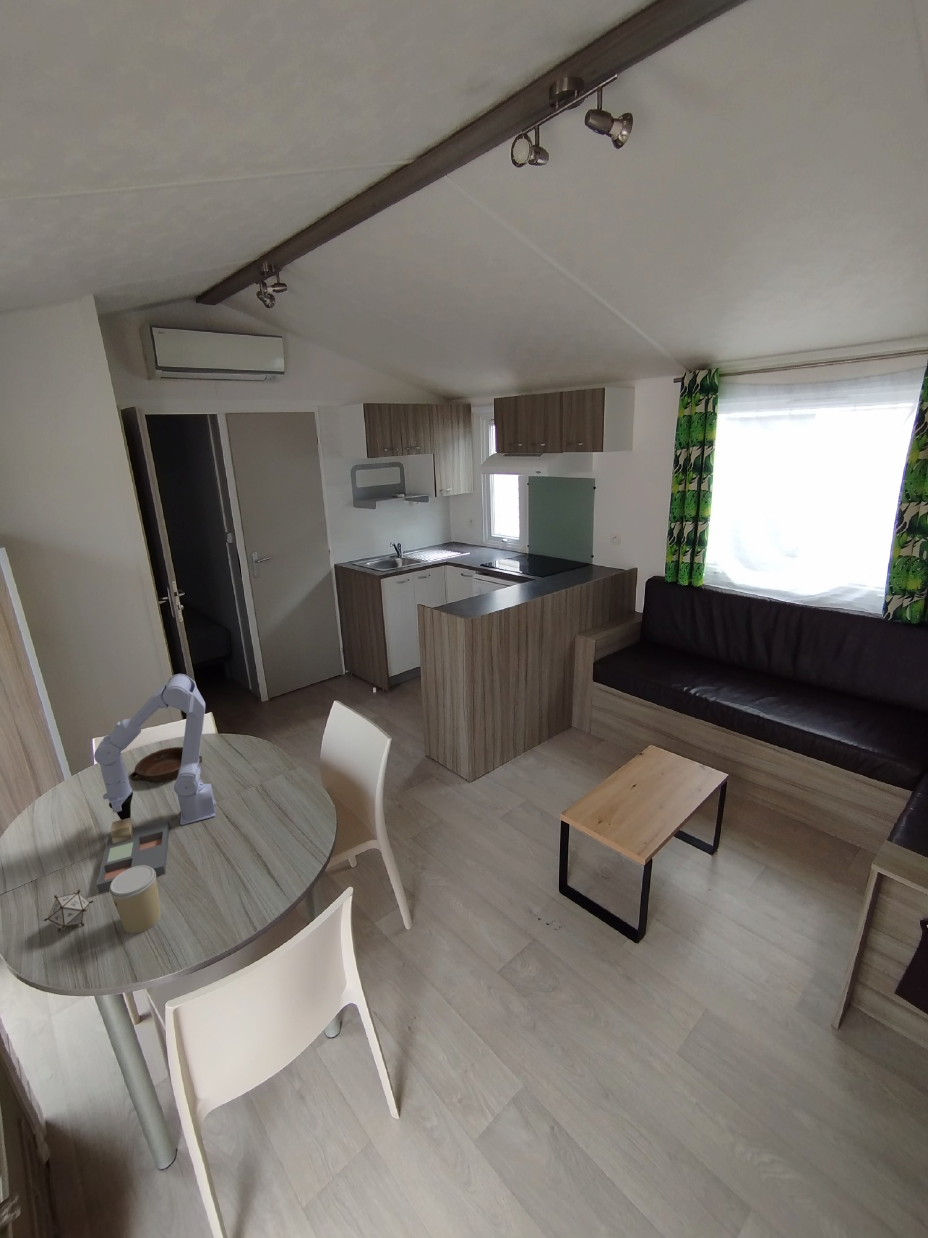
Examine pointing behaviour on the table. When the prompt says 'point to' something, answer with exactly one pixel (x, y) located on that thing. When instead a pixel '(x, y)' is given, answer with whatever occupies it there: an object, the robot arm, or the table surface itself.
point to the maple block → (121, 830)
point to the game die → (68, 910)
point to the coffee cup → (136, 898)
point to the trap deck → (135, 853)
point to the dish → (159, 766)
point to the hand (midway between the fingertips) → (126, 819)
